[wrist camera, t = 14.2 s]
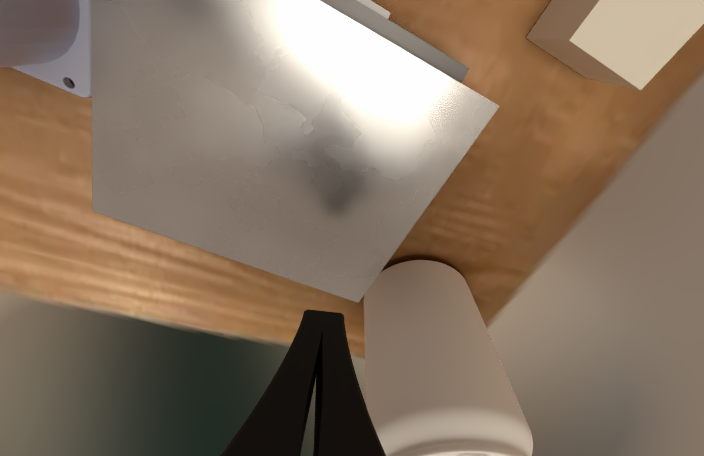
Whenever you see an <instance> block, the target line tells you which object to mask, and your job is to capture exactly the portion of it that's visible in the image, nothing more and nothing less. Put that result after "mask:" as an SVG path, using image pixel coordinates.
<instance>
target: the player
mask: <svg viewBox="0 0 704 456" xmlns="http://www.w3.org/2000/svg"><path fill="white" fill-rule="evenodd" d="M91 91H92V204H93V212H96V213H99V214H102V215H105V216H108V217H111V218H113V219H116V220H119V221H122V222H125V223H128V224H131V225H134V226H137V227H140V228H142V229H145V230H148V231H151V232H154V233H157V234H160V235H163V236H166V237H169V238H171V239H174V240H177V241H180V242H183V243H186V244H189V245H192V246H195V247H198V248H200V249H203V250H206V251H209V252H212V253H215V254H218V255H221V256H224V257H227V258H229V259H232V260H235V261H238V262H241V263H244V264H247V265H250V266H253V267H256V268H258V269H261V270H264V271H267V272H270V273H273V274H276V275H279V276H282V277H285V278H287V279H290V280H293V281H296V282H299V283H302V284H305V285H308V286H311V287H314V288H316V289H319V290H322V291H325V292H328V293H331V294H334V295H337V296H340V297H343V298H345V299H348V300H351V301H354V302H357V303H359V301H360V300H361V298H362V297H363V296H364V294H365V293H366V291H367V290H368V289H369V287H370V286H371V285H372V283H373V282H374V280H375V279H376V278H377V276H378V275H379V273H380V272H381V271H382V269H383V268H384V266H385V265H386V264H387V262H388V261H389V259H390V258H391V257H392V255H393V254H394V253H395V251H396V250H397V248H398V247H399V246H400V244H401V243H402V241H403V240H404V239H405V237H406V236H407V234H408V233H409V232H410V230H411V229H412V227H413V226H414V225H415V223H416V222H417V220H418V219H419V218H420V216H421V215H422V214H423V212H424V211H425V209H426V208H427V207H428V205H429V204H430V202H431V201H432V200H433V198H434V197H435V195H436V194H437V193H438V191H439V190H440V188H441V187H442V186H443V184H444V183H445V181H446V180H447V179H448V177H449V176H450V175H451V173H452V172H453V170H454V169H455V168H456V166H457V165H458V163H459V162H460V161H461V159H462V158H463V156H464V155H465V154H466V152H467V151H468V149H469V148H470V147H471V145H472V144H473V142H474V141H475V140H476V138H477V137H478V136H479V134H480V133H481V131H482V130H483V129H484V127H485V126H486V124H487V123H488V122H489V120H490V119H491V117H492V116H493V115H494V113H495V112H496V110H497V109H498V108H499V105H497V104H495V103H494V102H492V101H490V100H488V99H487V98H485V97H483V96H482V95H480V94H478V93H477V92H475V91H473V90H471V89H470V88H468V87H466V86H465V85H463V84H461V83H459V82H458V81H456V80H454V79H453V78H451V77H449V76H448V75H446V74H444V73H442V72H441V71H439V70H437V69H436V68H434V67H432V66H430V65H429V64H427V63H425V62H424V61H422V60H420V59H419V58H417V57H415V56H413V55H412V54H410V53H408V52H407V51H405V50H403V49H401V48H400V47H398V46H396V45H395V44H393V43H391V42H390V41H388V40H386V39H384V38H383V37H381V36H379V35H378V34H376V33H374V32H372V31H371V30H369V29H367V28H366V27H364V26H362V25H361V24H359V23H357V22H355V21H354V20H352V19H350V18H349V17H347V16H345V15H343V14H342V13H340V12H338V11H337V10H335V9H333V8H332V7H330V6H328V5H326V4H325V3H323V2H321V1H320V0H91Z"/></svg>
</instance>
